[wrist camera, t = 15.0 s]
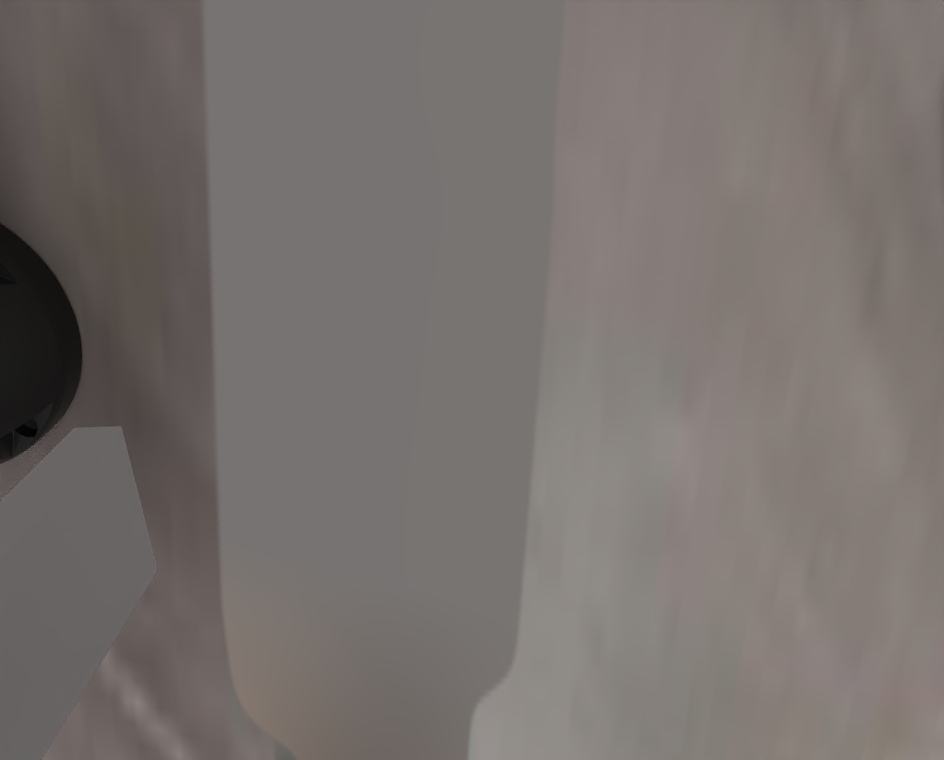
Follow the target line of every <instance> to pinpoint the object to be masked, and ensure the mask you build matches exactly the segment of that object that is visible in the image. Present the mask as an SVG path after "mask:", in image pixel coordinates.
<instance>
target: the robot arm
mask: <svg viewBox="0 0 944 760" xmlns="http://www.w3.org/2000/svg"><path fill="white" fill-rule="evenodd" d="M80 371H81V344H80V337H79V332H78V328H77V324H76V321H75V318H74V315H73V312H72V310H71V307H70V305H69V303H68V300H67V298H66V296H65V294H64V293H63V291H62V289H61V287H60V286H59V284H58V282H57V281H56V279H55V278H54V276H53V275H52V274H51V272H50V271H49V269H48V268H47V267H46V266H45V264H44V263H43V262H42V261H41V260H40V259H39V257H38V256H37V255H36V254H35V253H34V252H33V251H32V250H31V249H30V248H29V247H28V246H27V245H26V244H25V243H23V242H22V241H21V240H20V239H19V238H18V237H16V236H15V235H14V234H13V233H11V232H10V231H9V230H7V229H6V228H4V227H3V226H1V225H0V464H1V463H4V462H6V461H8V460H10V459H12V458H14V457H16V456H18V455H19V454H21V453H23V452H24V451H26V450H27V449H29V448H30V447H31V446H33V445H34V444H35V443H36V442H37V441H38V440H39V439H40V438H41V437H42V436H44V435H45V434H46V433H47V432H48V431H49V430H50V429H51V428H52V427H53V426H54V425H55V424H56V423H57V422H58V421H59V420H60V419H61V417H62V416H63V415H64V414H65V412H66V410H67V409H68V407H69V406H70V404H71V402H72V400H73V397H74V395H75V392H76V390H77V386H78V383H79V378H80ZM157 571H158V570H157V566H156V562H155V558H154V554H153V550H152V546H151V542H150V538H149V534H148V530H147V526H146V522H145V518H144V514H143V510H142V506H141V502H140V498H139V494H138V490H137V486H136V482H135V478H134V474H133V470H132V466H131V462H130V458H129V455H128V451H127V447H126V443H125V439H124V435H123V431H122V427H121V426H112V427H84V428H74V429H73V430H72V431H71V432H70V433H69V434H68V435H66V436H65V437H64V438H63V439H62V440H61V441H60V442H59V443H58V444H57V445H56V446H55V447H54V448H53V449H52V450H51V451H50V452H49V453H48V454H47V455H46V456H45V457H44V458H43V459H42V460H41V461H40V462H39V463H38V464H37V465H36V466H35V467H34V468H33V469H32V470H31V471H30V472H29V473H28V474H27V475H26V476H25V477H24V478H23V479H22V480H21V481H20V482H19V483H18V484H17V485H16V486H15V487H14V488H13V489H12V490H11V491H10V492H9V493H8V494H7V495H6V496H5V497H4V498H3V499H2V500H1V501H0V760H41V759H42V758H43V756H44V755H45V753H46V751H47V750H48V748H49V746H50V745H51V743H52V742H53V740H54V738H55V737H56V735H57V733H58V732H59V730H60V729H61V727H62V725H63V724H64V722H65V720H66V719H67V717H68V716H69V714H70V712H71V711H72V709H73V707H74V706H75V704H76V703H77V701H78V699H79V698H80V696H81V694H82V693H83V691H84V690H85V688H86V686H87V685H88V683H89V681H90V680H91V678H92V677H93V675H94V673H95V672H96V670H97V668H98V667H99V665H100V664H101V662H102V660H103V659H104V657H105V655H106V654H107V652H108V651H109V649H110V647H111V646H112V644H113V642H114V641H115V639H116V638H117V636H118V634H119V633H120V631H121V629H122V628H123V626H124V625H125V623H126V621H127V620H128V618H129V616H130V615H131V613H132V612H133V610H134V608H135V607H136V605H137V603H138V602H139V600H140V599H141V597H142V595H143V594H144V592H145V590H146V589H147V587H148V586H149V584H150V582H151V581H152V579H153V577H154V576H155V574H156V573H157Z"/></svg>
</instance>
